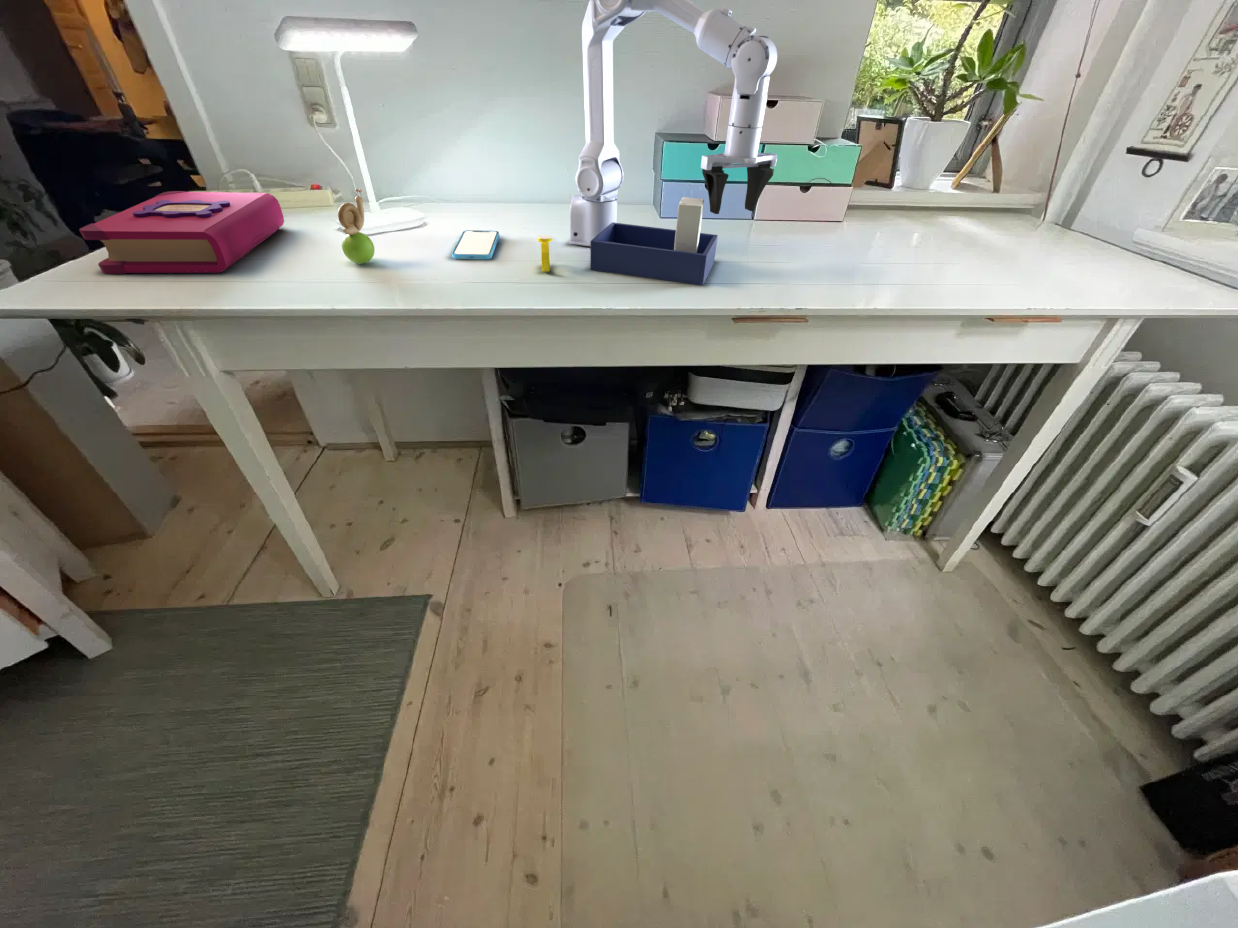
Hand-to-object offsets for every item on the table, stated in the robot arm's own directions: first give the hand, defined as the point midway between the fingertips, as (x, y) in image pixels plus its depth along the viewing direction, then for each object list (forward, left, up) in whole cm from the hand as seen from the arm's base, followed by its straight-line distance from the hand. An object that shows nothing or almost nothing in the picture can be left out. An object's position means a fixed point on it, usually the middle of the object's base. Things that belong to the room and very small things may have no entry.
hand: (732, 211), depth 102 cm
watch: (-32, -15, -10) cm, 36 cm away
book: (-97, -29, -10) cm, 101 cm away
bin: (-13, -5, -10) cm, 17 cm away
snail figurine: (-65, -24, -10) cm, 69 cm away
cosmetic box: (-7, -5, -10) cm, 13 cm away
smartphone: (-50, -8, -10) cm, 51 cm away
